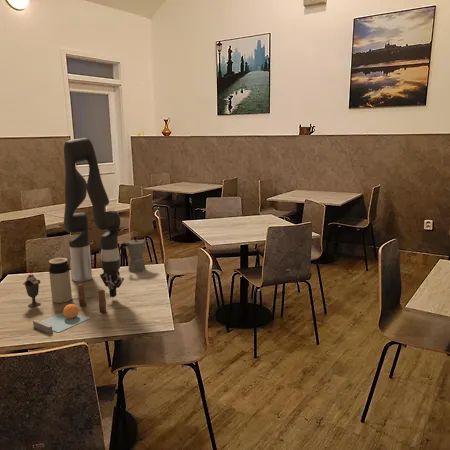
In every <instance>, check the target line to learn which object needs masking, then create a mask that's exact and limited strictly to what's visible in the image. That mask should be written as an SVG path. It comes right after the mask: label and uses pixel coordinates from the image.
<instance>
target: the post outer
mask: <svg viewBox="0 0 450 450" xmlns="http://www.w3.org/2000/svg"><path fill="white" fill-rule="evenodd" d="M97 295H98V307H99V308H98V309H99V310H98V311H99V314H105V313H107V305H106V301H107V300H106V291H105V289H98V291H97Z"/></svg>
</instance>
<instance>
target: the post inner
mask: <svg viewBox="0 0 450 450" xmlns="http://www.w3.org/2000/svg"><path fill="white" fill-rule="evenodd" d="M77 291H78V300H79V301H78V303H79V304H78V305H79V307H85V306H87V299H86V289H85V284H84V283H80V284H78V285H77Z"/></svg>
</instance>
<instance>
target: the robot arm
mask: <svg viewBox="0 0 450 450" xmlns="http://www.w3.org/2000/svg"><path fill="white" fill-rule="evenodd" d="M63 156H64V158H63V159H64V168H65V170H64V171H65V178H64V179H65V180H64V181H65V182H64V200H65V201H64V205H65V206H64V215H63V228H64V230H65V232H66V233H69V234H74V233H79V234H78V235H76V236H75V237H73V238H70V239H69V243H68V245H69V255H70V260H69V268H70V279H72V281H73V282H77V283H80V282H81V283H83V282H87V281H90V280H92V279H93V273H92V259H91V248H90V235H89V218H88V214H87V213H86V212H83V211H81V212H75V211H76V210H77V209H78V207H80V205H81V204H82V203H83V202H84V201H85V199H86V198H87V195H88V197H89V200H90V203H91V205H92V214H93V221H94V222H93V223H94V225H95V226H96V227H97V229H99V230H101V231H103V230H104V231H105V230H106V231H105V232H104V233H103V234H102V235H100V238H99V239H100V240H99V241H100V258H101V259H100V262H101V263H100V264H101V270H102V271H103V273H102V274H99V276H100V278H101V280H102V282H103V284H104V286H105V287H107V288H108V291H109V297H110V298H115V297H117V288H120V287H121V285H122V284H123V282H124V281H125V278H124V277H121V276H120V274H121V273H120V268H121V260H120V258H121V257H120V251H119V250H120V248H119V241H118V240H119V239H118V237H119V234H120V233H119V232H120V227H121V217H120V216H121V215H120V214H119V213H118V212H117V210H116V211H115V210H108V211H105V207H107V206H108V205H109V203H110V198H109V197H108V194H107V191H106V189H105V187H104V184H103V180H102V176H101V173H100V168H99V164H98V160H97V155H96V152H95V148H94V145H93V143H92V141H91V140H90V139H89V138H87V137H81V138H75V139H69V140H66V141H65V142H64V145H63ZM84 161H87V164H88V167H89V168H88V170H89V171H88V177H87V181H86V179H85V177H84V176H83V175H82V174H81V173H80V172H79V171H78V170H77V167H76V164H77V163H79V162H84Z"/></svg>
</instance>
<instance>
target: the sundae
mask: <svg viewBox="0 0 450 450" xmlns="http://www.w3.org/2000/svg"><path fill="white" fill-rule="evenodd" d="M29 271H30V273H29V274H28V276H27V278H26V279H25V281H24V282H23V284H22V286H25V287H24V288H25V290H26V293H27V296H28V297H30V298H31V303H29V304H27V307H28V308H37V307H39V306H41V304H42V303H41V302H37V301H36V297H38V295H39V292H40V291H39V289H40V288H39V286H40V284H41V280H40V279H37V278H36V277H35V275H34V274H33V270H32V269H30V270H29Z"/></svg>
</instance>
